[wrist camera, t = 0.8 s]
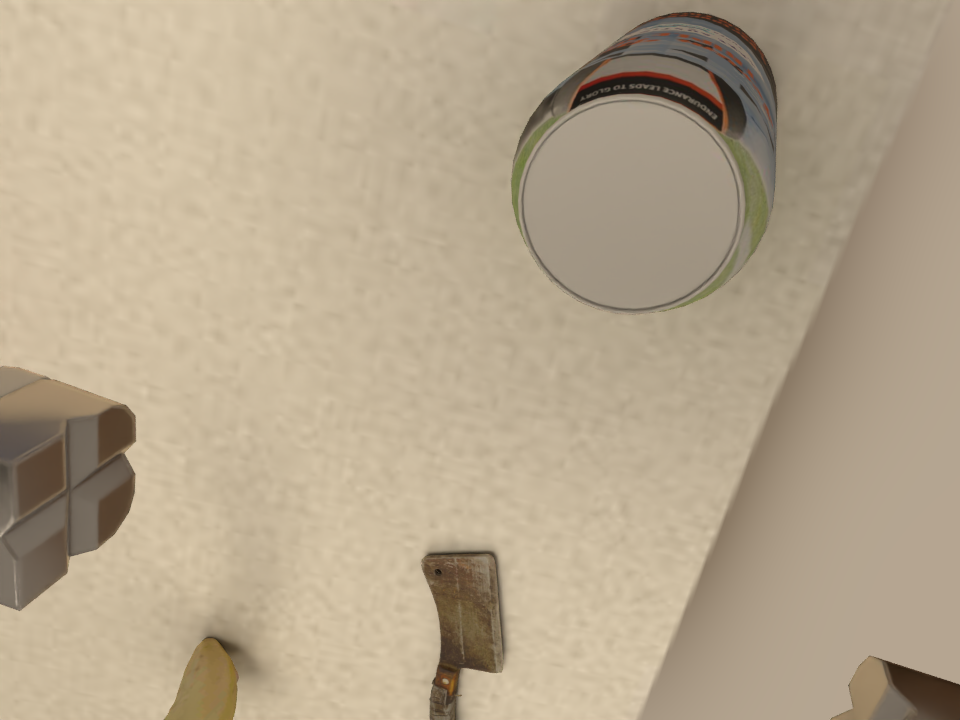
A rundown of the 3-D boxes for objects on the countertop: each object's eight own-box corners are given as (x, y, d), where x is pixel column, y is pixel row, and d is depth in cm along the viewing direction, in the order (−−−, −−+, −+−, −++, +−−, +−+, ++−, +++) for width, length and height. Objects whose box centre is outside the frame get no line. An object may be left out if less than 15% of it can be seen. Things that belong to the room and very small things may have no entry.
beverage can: (802, 40, 25) (875, 25, 14) (722, 256, 28) (732, 378, 17) (613, -7, 26) (548, -55, 15) (554, 207, 29) (464, 293, 18)
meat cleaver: (537, 567, 35) (433, 525, 36) (532, 582, 34) (424, 539, 35) (472, 757, 39) (381, 716, 40) (465, 776, 38) (372, 733, 39)
